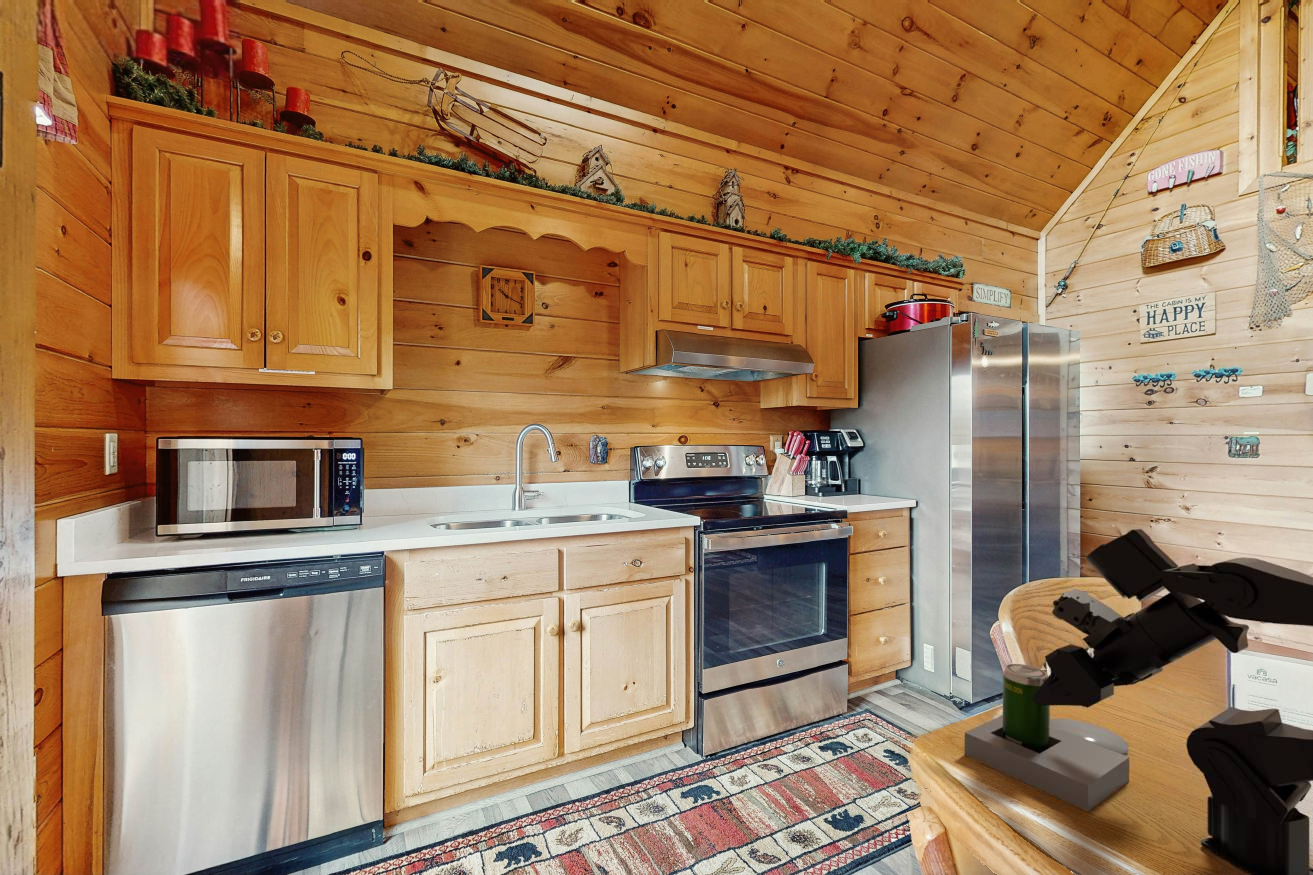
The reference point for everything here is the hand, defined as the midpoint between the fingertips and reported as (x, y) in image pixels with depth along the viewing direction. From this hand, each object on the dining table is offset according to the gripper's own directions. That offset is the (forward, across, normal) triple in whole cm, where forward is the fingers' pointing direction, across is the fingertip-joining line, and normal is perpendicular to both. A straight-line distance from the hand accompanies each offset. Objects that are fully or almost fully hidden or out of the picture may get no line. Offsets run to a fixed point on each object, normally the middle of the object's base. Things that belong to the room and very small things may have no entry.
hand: (1052, 693), depth 76 cm
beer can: (+10, 0, +5) cm, 11 cm away
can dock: (+8, 0, +6) cm, 10 cm away
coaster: (+8, -14, +6) cm, 17 cm away
